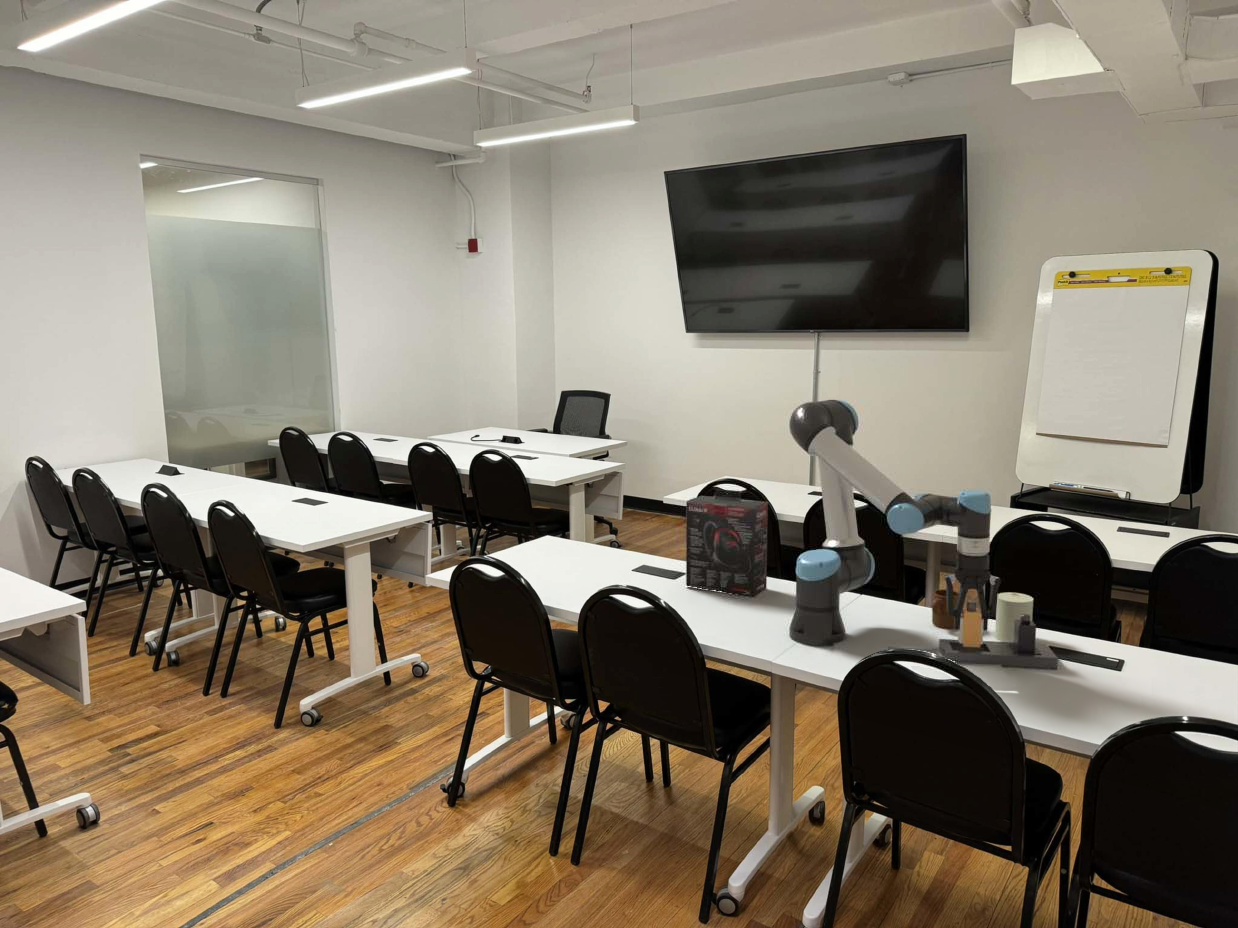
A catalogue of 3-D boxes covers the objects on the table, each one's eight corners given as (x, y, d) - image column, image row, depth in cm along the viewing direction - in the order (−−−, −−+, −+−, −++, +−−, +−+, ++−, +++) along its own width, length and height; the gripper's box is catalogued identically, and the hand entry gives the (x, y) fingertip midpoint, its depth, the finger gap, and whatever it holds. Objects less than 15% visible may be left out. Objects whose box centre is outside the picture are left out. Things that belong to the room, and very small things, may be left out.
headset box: (768, 588, 284) (769, 489, 279) (754, 598, 273) (755, 496, 269) (701, 579, 296) (700, 484, 292) (685, 588, 286) (684, 490, 281)
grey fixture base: (945, 663, 216) (947, 617, 214) (938, 649, 226) (940, 605, 224) (1057, 669, 211) (1059, 622, 209) (1045, 654, 221) (1047, 609, 219)
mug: (946, 635, 237) (947, 602, 235) (919, 629, 242) (920, 596, 241) (965, 624, 245) (966, 592, 244) (939, 618, 250) (940, 587, 249)
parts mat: (891, 662, 218) (892, 660, 218) (887, 648, 227) (887, 646, 227) (941, 665, 215) (942, 663, 215) (935, 650, 225) (935, 649, 225)
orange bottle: (963, 646, 217) (964, 604, 216) (960, 641, 221) (961, 599, 220) (980, 647, 217) (981, 605, 215) (976, 641, 220) (978, 600, 219)
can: (1029, 634, 236) (1031, 591, 234) (1033, 645, 227) (1036, 601, 226) (993, 631, 239) (995, 589, 237) (995, 642, 230) (997, 599, 229)
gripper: (939, 555, 214) (937, 645, 217) (1013, 556, 210) (1009, 648, 214) (934, 548, 221) (932, 635, 224) (1005, 549, 218) (1002, 638, 221)
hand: (970, 641), depth 219 cm, fingers closed on orange bottle, 4 cm apart
